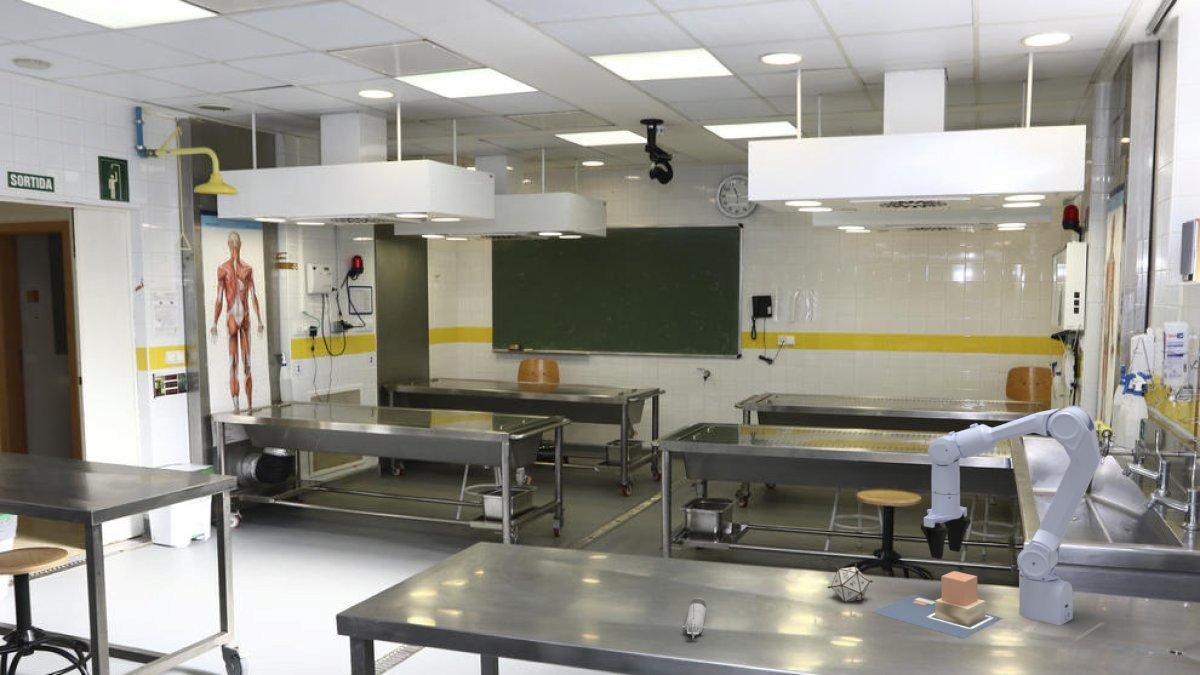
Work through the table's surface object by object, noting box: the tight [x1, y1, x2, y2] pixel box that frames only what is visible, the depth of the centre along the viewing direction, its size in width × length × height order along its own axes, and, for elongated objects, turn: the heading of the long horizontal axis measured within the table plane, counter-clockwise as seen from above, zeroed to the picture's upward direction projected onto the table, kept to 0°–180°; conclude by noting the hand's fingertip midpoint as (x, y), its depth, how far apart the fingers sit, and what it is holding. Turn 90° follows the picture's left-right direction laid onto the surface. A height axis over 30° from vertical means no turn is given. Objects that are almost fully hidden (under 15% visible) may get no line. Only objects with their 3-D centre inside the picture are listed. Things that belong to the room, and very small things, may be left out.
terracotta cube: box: [940, 570, 978, 606], centre depth 184 cm, size 5×5×5 cm
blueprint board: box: [871, 594, 1004, 639], centre depth 186 cm, size 20×16×1 cm
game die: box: [826, 562, 874, 603], centre depth 197 cm, size 9×8×10 cm
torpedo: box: [681, 597, 707, 640], centre depth 185 cm, size 18×5×6 cm, turn 170°
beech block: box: [934, 597, 986, 626], centre depth 184 cm, size 7×7×4 cm
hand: (945, 554), depth 196 cm, fingers open, 7 cm apart
